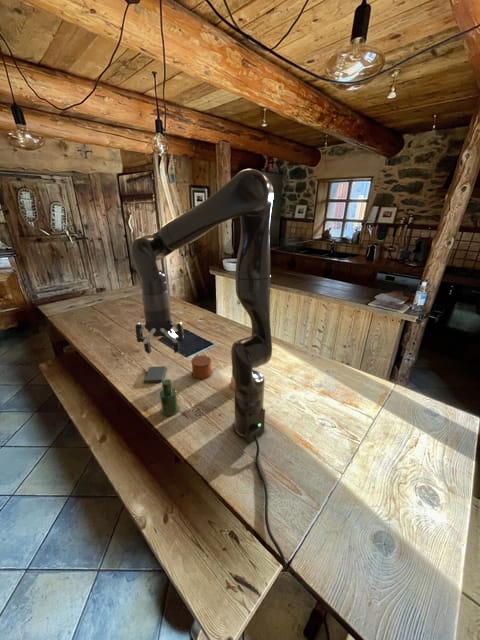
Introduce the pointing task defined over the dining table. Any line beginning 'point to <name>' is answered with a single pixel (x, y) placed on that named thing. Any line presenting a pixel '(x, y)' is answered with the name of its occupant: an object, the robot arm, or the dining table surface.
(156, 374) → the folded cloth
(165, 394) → the green bottle
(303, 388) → the dining table surface
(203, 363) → the copper tin
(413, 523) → the dining table surface
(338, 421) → the dining table surface
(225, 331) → the dining table surface
